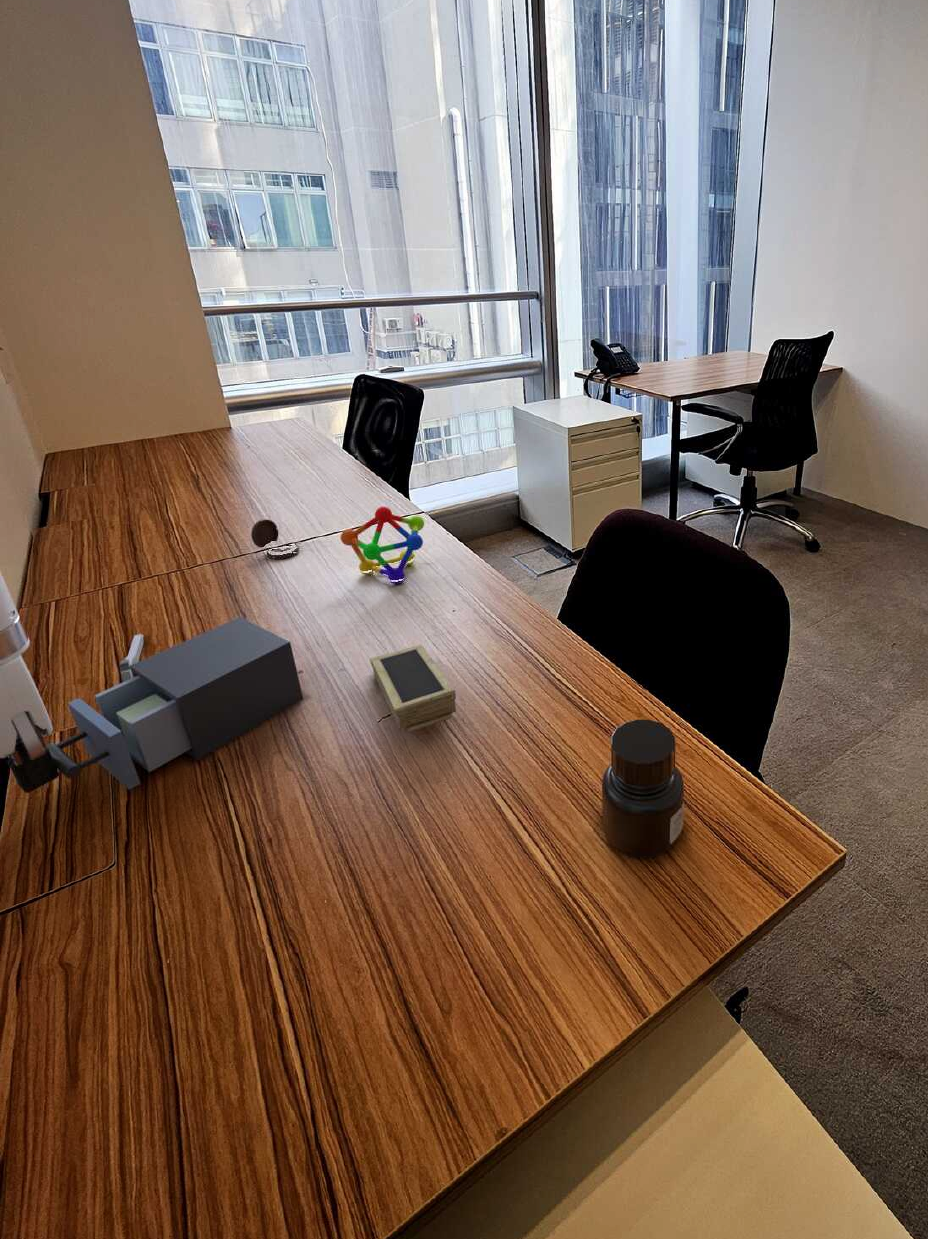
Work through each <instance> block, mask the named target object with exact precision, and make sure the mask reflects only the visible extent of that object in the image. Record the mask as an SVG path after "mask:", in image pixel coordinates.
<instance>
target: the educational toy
mask: <svg viewBox="0 0 928 1239" xmlns="http://www.w3.org/2000/svg"><path fill="white" fill-rule="evenodd" d="M398 522H399V523H403V524H406V525H407V527H408V528H409V529H410V530H411V531H410V533H409V532H408V531H407V530H406V529H405V528H403V526H401V525H400V524H399V523H398ZM386 523H388V524H389V526H391V527H392V528H393V529H395V531H397V532H398V533H399V534H400V535H402V537H403V538H404V539H405V541H400V542H397V543H391V544H387V545H383V546H380V545H379V541H380V539H381V538H380V537H381V534H382V531H383V528H384V525H385V524H386ZM375 524H377V525H376V528H375V532H374V534H373V537H372V541H371V542H370V543H367V544H366V543H365V542H363V541H361V540H360V539H359V535H361V534H362V533H364V532H365V531H366V530H368V529H369V528H371V527H372V526H374V525H375ZM424 527H425V521H424V519H423V517H421V516H419V515H412V516H411V517H410V518H407V517H403V516H400V515H396V514H393V513H392V510H391V509H390V508H389V507H387V506H380V507H378V508H377V509H376V510H375V512H374V517H373V518H372V519H370V520H369V521H366V523H364V524H362V525H361V526H360V527H358V528H356V529H355V530H354V529H351V528H348V529H345V530H343V531H342V532H341V535H340V541H341V543H342V544H344V545H345V546H350V547H351V548H352V549H353V551H354V553H355V555H356V556H357V558H358V560H359V561H360V563H359V565H358V569H360V570H361V571H368V570H372V572H369V573H362V572H361V571H360V570H359V571H360V573H361V574H363V575H365V576H369V575H372V574H374V573H376V572H378V573H377V574H379V573H381V574H380V575H383V574H386V575H388V576H387V579H388V580H389V579H390V580H399V579H403V578H404V576H405V577H406V574H405V571H404V569H405V568H406V566H411V565H413V564H414V563H415V561H416V559H415V560H414V561H413V562H411V563H407V562H408V561H410V560H411V559H413V558H414V557H415V558H416V555H415V553H414V551H418V550H420V549H421V548H422V546H423V544H424V540H423V537H422V536H421V535H419V531H421V530H423V528H424ZM402 548H406V550H403V551H402V552H400V554H399V556H398V557H394V558H389V559H385V558H384V557H382V556H381V554H382V553H385V552H390V551H394V550H398V549H402ZM361 549H362V550H361ZM374 560H376V562H375V561H374ZM400 560H401V562H399V563H398V566H397V567H393V566H391V564H390V565H389V564H388V563H394V562H397V561H400ZM406 563H407V564H406ZM394 564H395V563H394ZM380 565H382V566H381V567H383V568H381V567H376V566H380ZM405 565H406V566H405ZM404 567H405V568H404ZM373 571H375V572H373ZM386 575H385V576H386ZM404 580H405V578H404V579H403V580H402V581H398V582H391V581H389V582H390V583H391V584H394V585H399V584H401V583H403V582H404Z"/></svg>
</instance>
